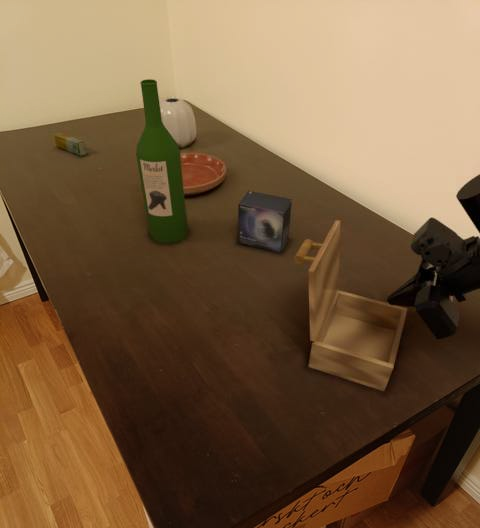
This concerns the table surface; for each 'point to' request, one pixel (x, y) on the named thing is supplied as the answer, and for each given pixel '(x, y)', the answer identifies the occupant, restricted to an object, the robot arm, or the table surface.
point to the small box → (264, 221)
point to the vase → (178, 120)
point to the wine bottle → (160, 173)
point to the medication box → (70, 144)
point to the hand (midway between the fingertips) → (388, 301)
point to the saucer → (201, 172)
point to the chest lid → (321, 276)
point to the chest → (359, 340)
